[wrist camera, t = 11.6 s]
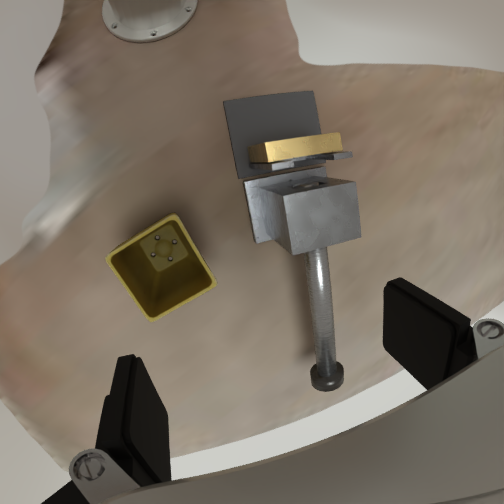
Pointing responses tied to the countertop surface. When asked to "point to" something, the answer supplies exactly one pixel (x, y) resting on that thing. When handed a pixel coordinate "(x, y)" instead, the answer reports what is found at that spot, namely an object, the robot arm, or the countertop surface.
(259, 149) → the gold bearing plate
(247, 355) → the countertop surface
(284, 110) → the mat
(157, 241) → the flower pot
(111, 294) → the countertop surface
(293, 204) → the block
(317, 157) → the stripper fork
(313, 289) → the shaft
